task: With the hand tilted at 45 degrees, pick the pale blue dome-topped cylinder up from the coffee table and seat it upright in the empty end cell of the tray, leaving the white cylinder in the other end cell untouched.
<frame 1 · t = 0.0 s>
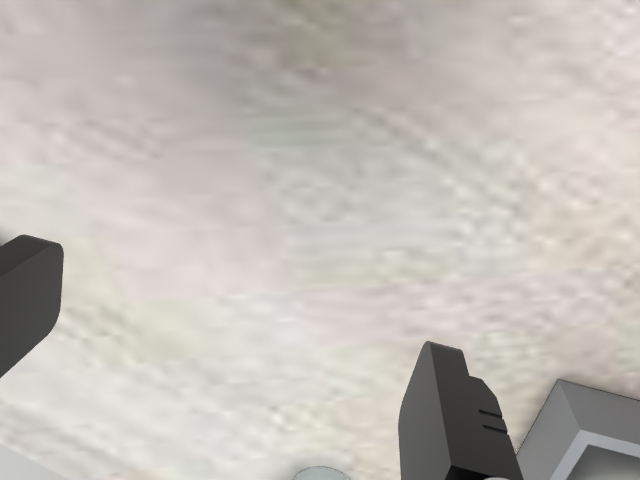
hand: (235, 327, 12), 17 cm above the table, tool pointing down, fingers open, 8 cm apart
white cylinder: (598, 456, 32), point 1 cm above the table, touching tray
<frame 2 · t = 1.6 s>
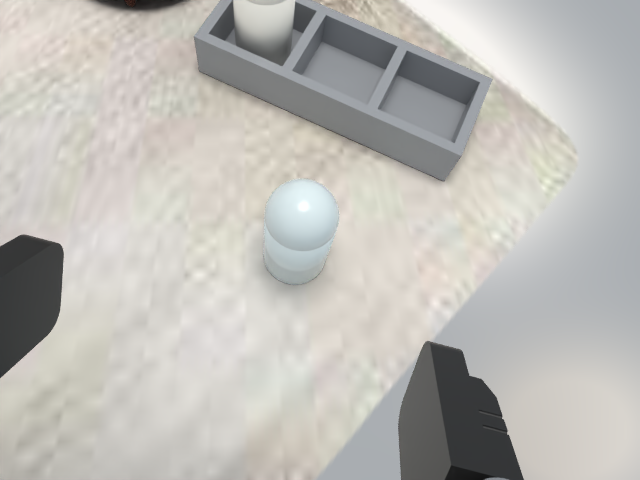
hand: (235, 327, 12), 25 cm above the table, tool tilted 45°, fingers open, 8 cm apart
tray: (338, 90, 45), on the table
white cylinder: (263, 48, 45), point 1 cm above the table, touching tray
pale blue dome-topped cylinder: (294, 254, 39), on the table
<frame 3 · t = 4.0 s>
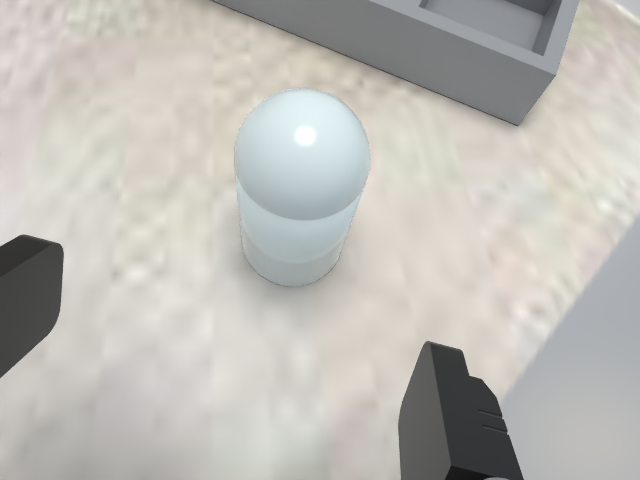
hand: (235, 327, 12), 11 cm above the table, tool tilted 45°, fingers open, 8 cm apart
pale blue dome-topped cylinder: (292, 238, 24), on the table
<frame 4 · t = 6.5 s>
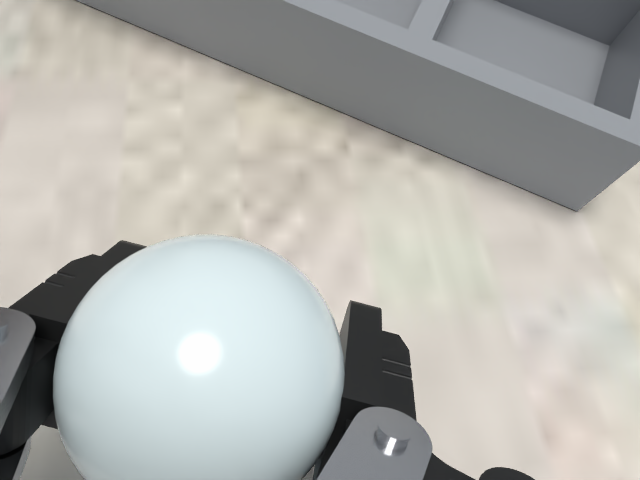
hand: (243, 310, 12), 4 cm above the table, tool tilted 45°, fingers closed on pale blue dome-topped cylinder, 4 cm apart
tray: (336, 21, 21), on the table
pale blue dome-topped cylinder: (230, 410, 15), on the table, touching gripper
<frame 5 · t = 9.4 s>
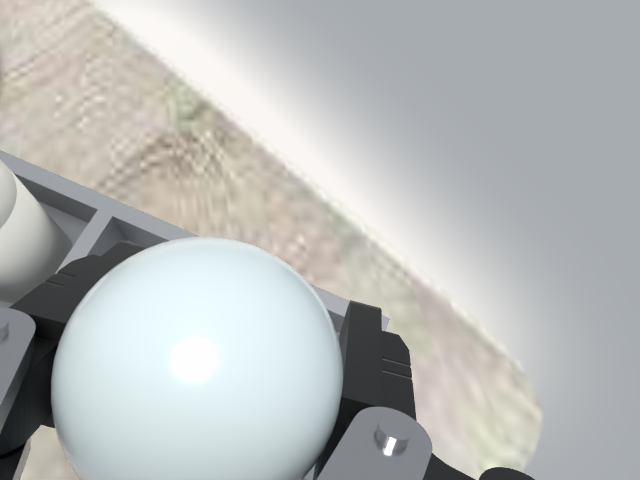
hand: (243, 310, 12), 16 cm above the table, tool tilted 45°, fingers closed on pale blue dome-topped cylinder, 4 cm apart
tray: (153, 320, 28), on the table
white cylinder: (27, 260, 28), point 1 cm above the table, touching tray
pale blue dome-topped cylinder: (229, 411, 15), point 12 cm above the table, touching gripper
when the fingers open (7 cm above the table, at t = 12.4 s): pale blue dome-topped cylinder drops 1 cm, resting on tray.
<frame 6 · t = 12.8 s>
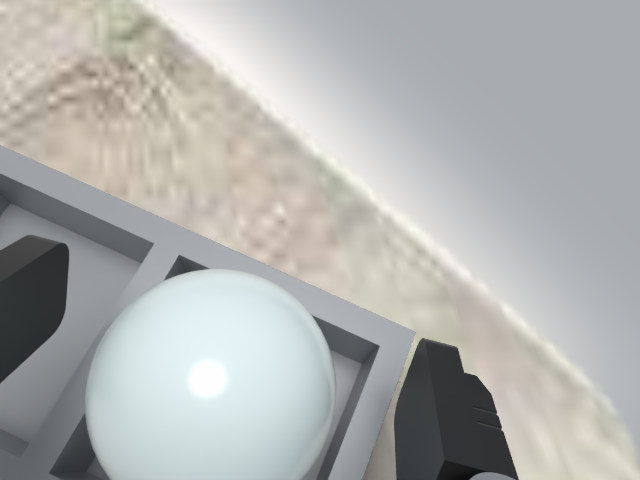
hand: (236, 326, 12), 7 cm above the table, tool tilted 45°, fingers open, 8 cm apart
tray: (46, 327, 18), on the table
pale blue dome-topped cylinder: (236, 418, 17), point 1 cm above the table, touching tray
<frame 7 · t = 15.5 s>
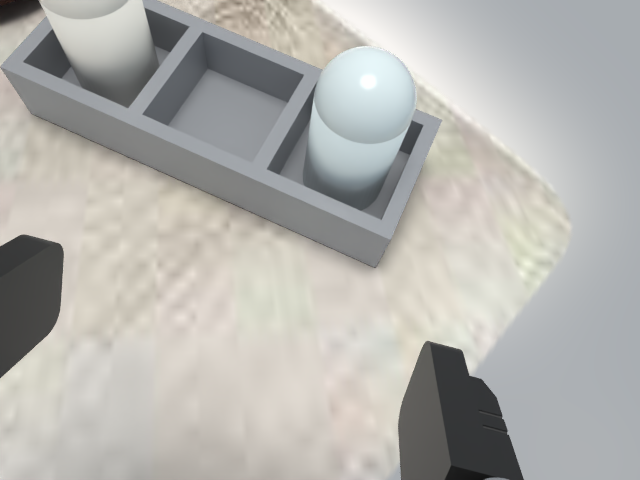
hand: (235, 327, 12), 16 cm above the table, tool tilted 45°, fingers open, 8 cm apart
tray: (230, 136, 32), on the table
white cylinder: (122, 80, 32), point 1 cm above the table, touching tray
pale blue dome-topped cylinder: (342, 176, 30), point 1 cm above the table, touching tray
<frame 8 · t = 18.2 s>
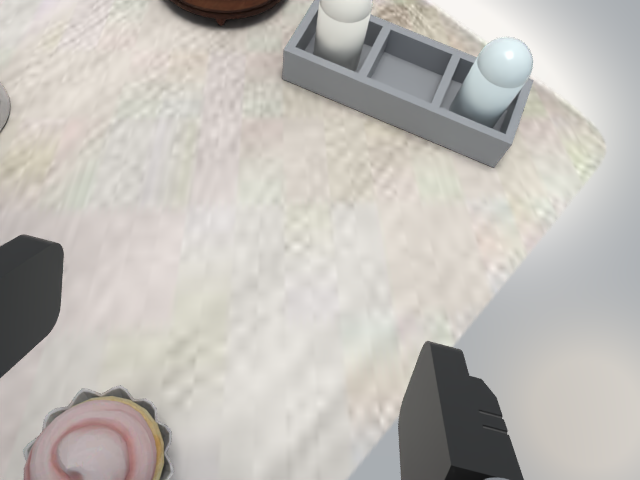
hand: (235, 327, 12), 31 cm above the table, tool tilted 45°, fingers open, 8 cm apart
cupcake: (118, 462, 38), on the table
tray: (400, 92, 53), on the table
white cylinder: (336, 58, 52), point 1 cm above the table, touching tray
pale blue dome-topped cylinder: (472, 115, 51), point 1 cm above the table, touching tray
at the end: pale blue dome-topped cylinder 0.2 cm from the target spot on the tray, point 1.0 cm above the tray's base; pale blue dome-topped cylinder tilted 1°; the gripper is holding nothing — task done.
